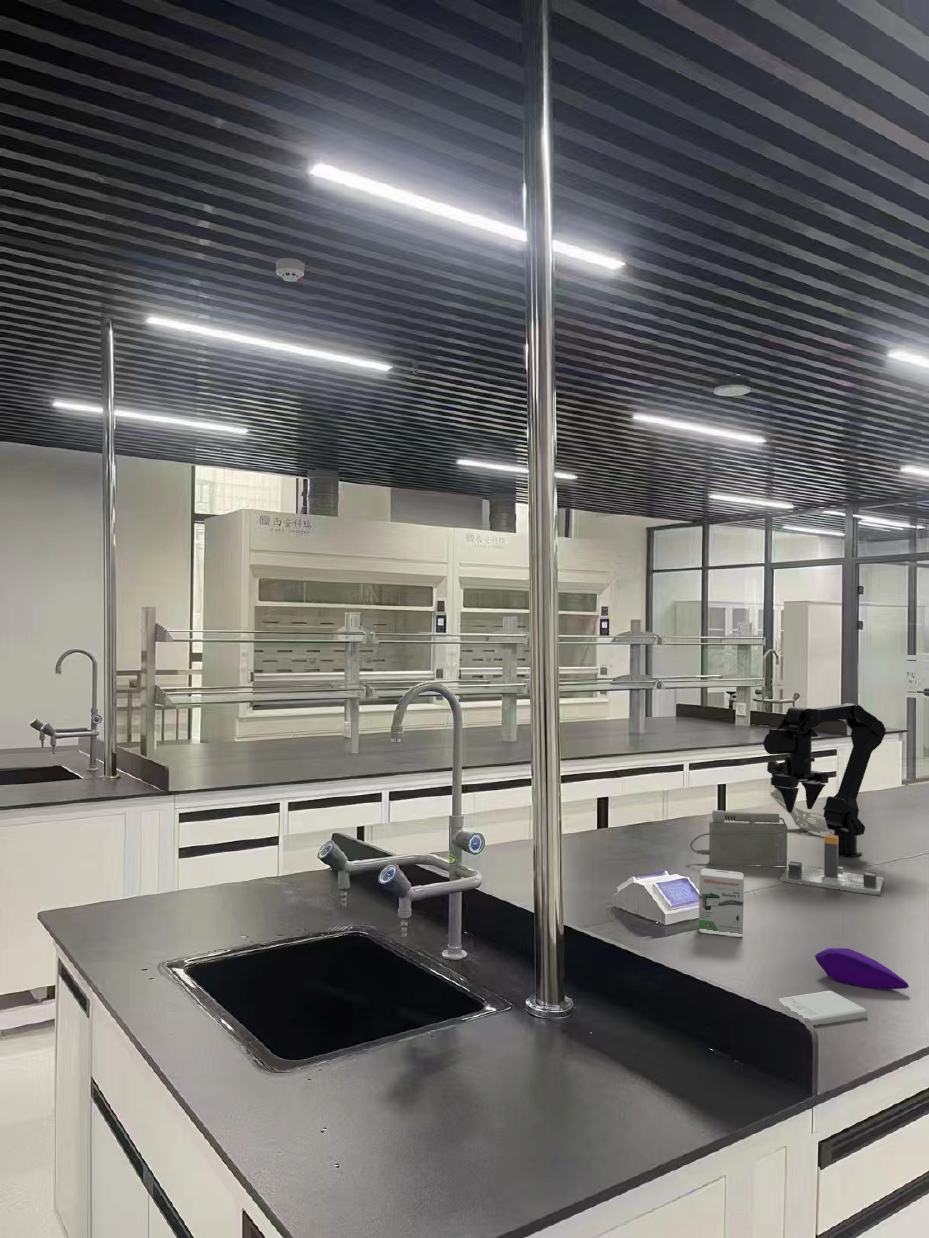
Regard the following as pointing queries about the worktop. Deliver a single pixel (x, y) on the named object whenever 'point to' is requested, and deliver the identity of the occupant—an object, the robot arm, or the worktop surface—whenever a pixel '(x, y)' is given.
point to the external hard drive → (824, 1007)
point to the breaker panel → (834, 879)
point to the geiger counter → (746, 839)
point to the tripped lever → (831, 855)
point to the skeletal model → (799, 818)
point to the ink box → (721, 900)
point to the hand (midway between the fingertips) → (799, 810)
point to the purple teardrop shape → (858, 969)
